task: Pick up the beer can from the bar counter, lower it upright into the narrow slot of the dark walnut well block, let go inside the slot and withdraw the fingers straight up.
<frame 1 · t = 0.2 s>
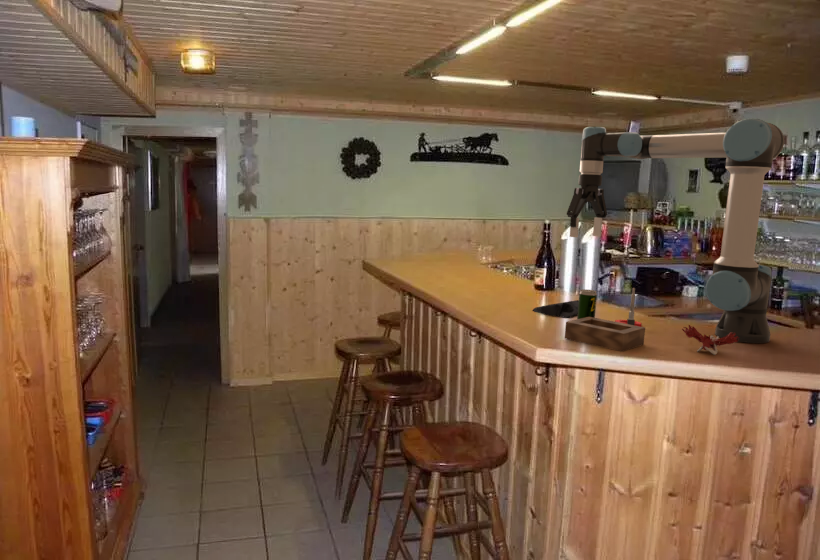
hand: (585, 236, 216), 28 cm above the table, fingers open, 13 cm apart
figurine: (707, 352, 177), on the table
dark slate chunk: (563, 313, 227), on the table
well: (603, 341, 184), on the table
grey and red post: (628, 325, 209), on the table
beer can: (585, 328, 201), on the table
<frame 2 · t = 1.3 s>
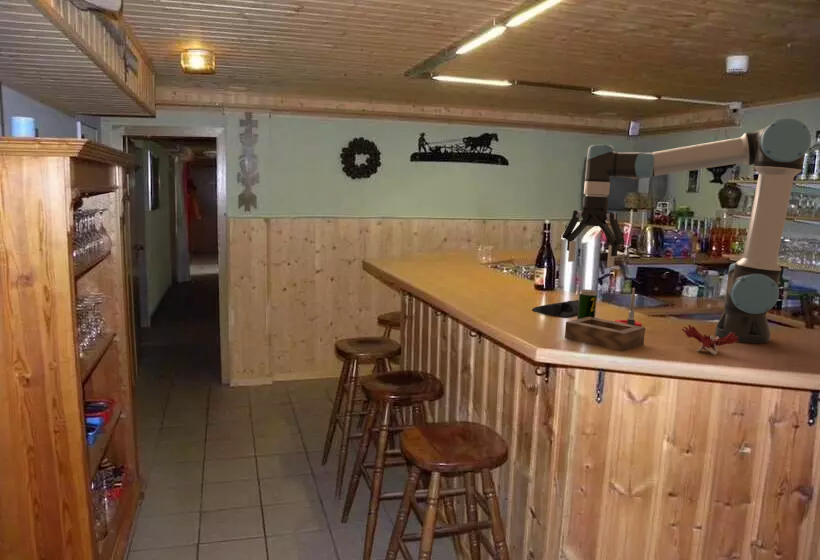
hand: (590, 264, 198), 20 cm above the table, fingers open, 13 cm apart
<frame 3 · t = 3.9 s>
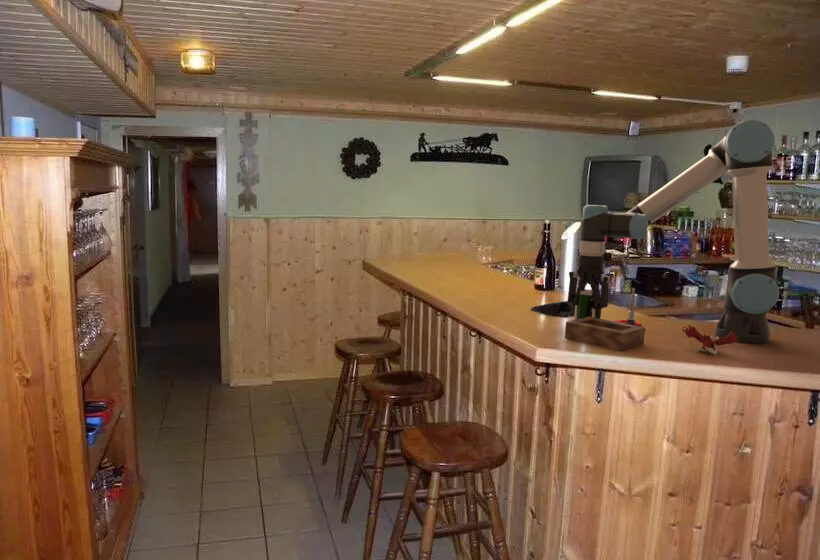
hand: (585, 326, 201), 0 cm above the table, fingers closed on beer can, 5 cm apart
beer can: (585, 328, 201), on the table, touching gripper
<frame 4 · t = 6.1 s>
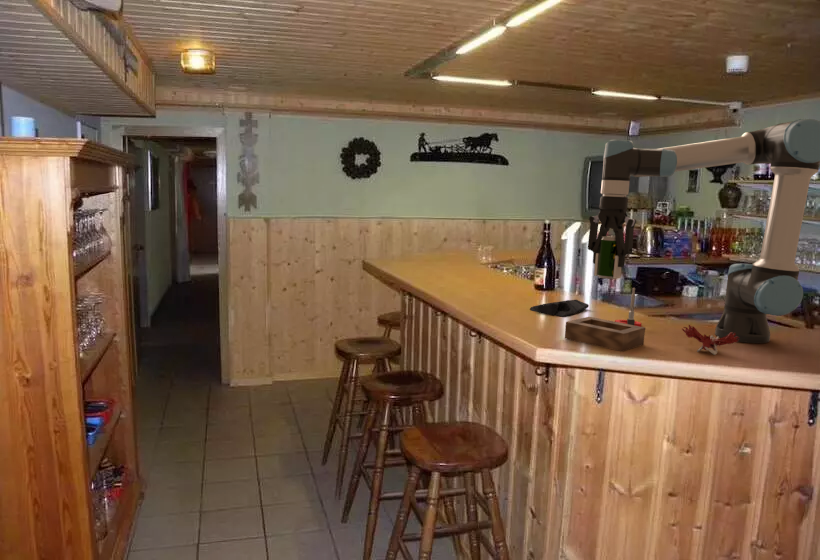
hand: (607, 276, 183), 19 cm above the table, fingers closed on beer can, 5 cm apart
beer can: (606, 278, 183), point 18 cm above the table, touching gripper
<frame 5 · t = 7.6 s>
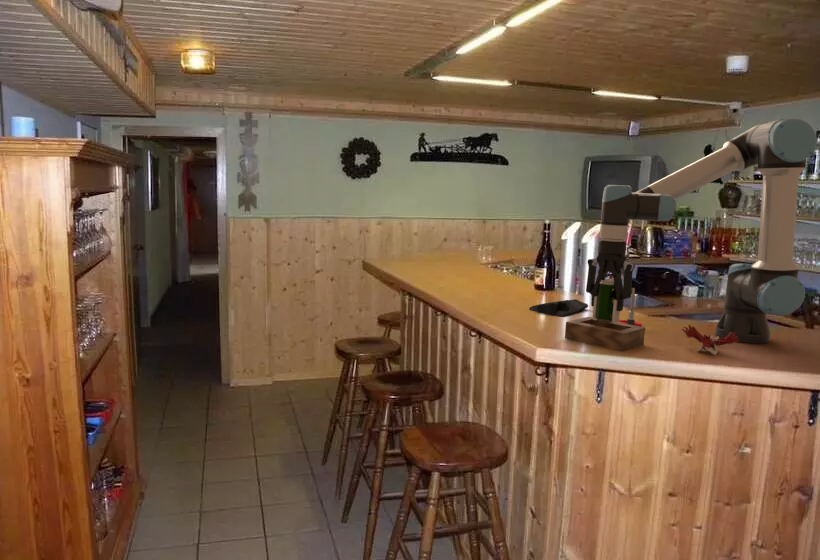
hand: (605, 319, 183), 6 cm above the table, fingers closed on beer can, 5 cm apart
beer can: (605, 321, 183), point 6 cm above the table, touching gripper
when the fingers open (3 cm above the table, at t = 8.8 s): beer can drops 2 cm, resting on well.
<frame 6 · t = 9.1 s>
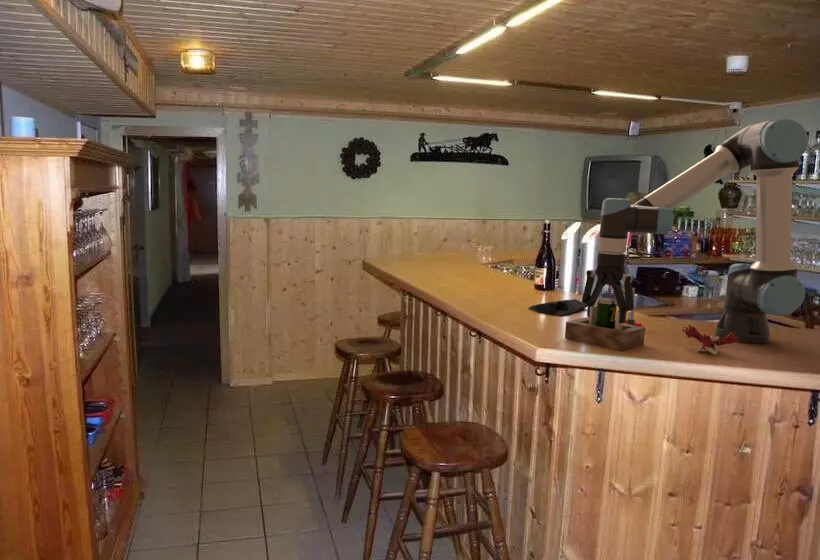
hand: (604, 330, 183), 3 cm above the table, fingers open, 8 cm apart
beer can: (604, 340, 184), resting on well
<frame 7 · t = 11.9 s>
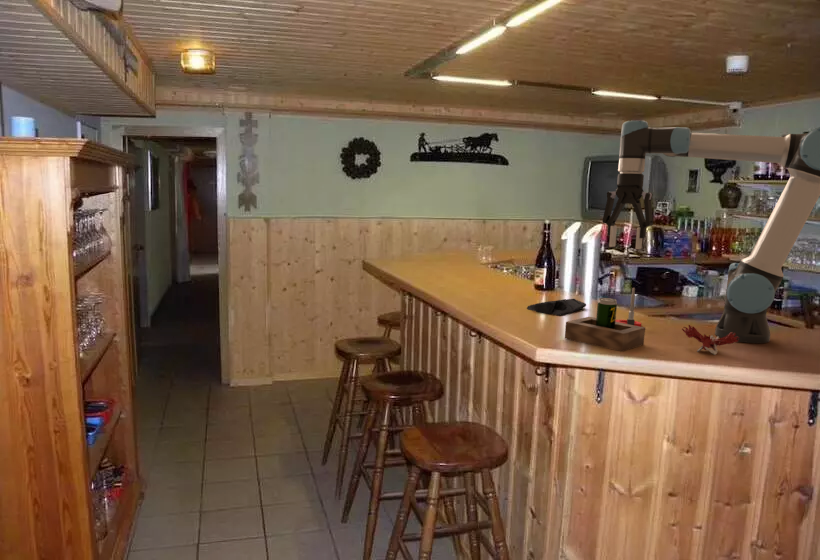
hand: (625, 247, 196), 26 cm above the table, fingers open, 8 cm apart
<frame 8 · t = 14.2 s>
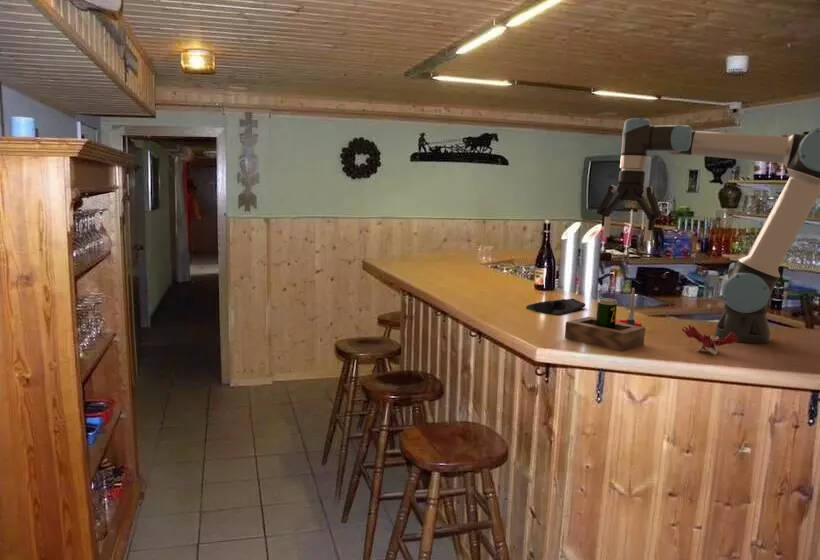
hand: (626, 239, 198), 29 cm above the table, fingers open, 13 cm apart
at the end: beer can inside the target area on the well (0.1 cm from its centre), point 0.2 cm above the well's base; beer can tilted 0°; the gripper is holding nothing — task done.
